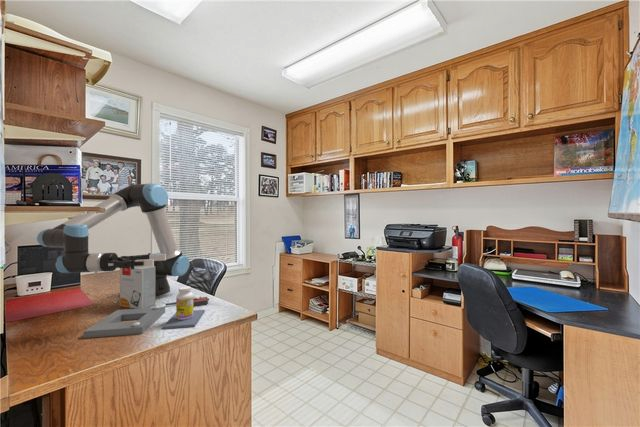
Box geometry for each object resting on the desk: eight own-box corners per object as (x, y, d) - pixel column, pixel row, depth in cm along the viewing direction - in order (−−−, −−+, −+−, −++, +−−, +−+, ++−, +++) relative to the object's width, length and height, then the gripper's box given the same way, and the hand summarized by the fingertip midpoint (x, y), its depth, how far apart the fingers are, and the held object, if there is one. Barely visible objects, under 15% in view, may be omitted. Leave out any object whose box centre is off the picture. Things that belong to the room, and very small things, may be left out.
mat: (176, 313, 130) (177, 311, 130) (204, 311, 132) (204, 309, 132) (162, 329, 112) (162, 326, 112) (194, 326, 114) (194, 324, 114)
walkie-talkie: (208, 300, 150) (165, 306, 141) (208, 292, 150) (165, 297, 141) (210, 305, 143) (165, 312, 133) (210, 296, 143) (165, 302, 133)
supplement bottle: (172, 318, 120) (172, 288, 120) (186, 313, 126) (186, 285, 126) (183, 321, 117) (183, 290, 117) (196, 316, 123) (196, 286, 123)
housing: (117, 315, 128) (117, 307, 128) (165, 312, 131) (165, 304, 131) (83, 338, 104) (83, 328, 104) (142, 333, 108) (142, 324, 108)
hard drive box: (119, 307, 140) (118, 266, 140) (133, 302, 147) (133, 264, 147) (142, 310, 135) (142, 268, 135) (156, 305, 142) (156, 265, 142)
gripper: (119, 265, 128) (170, 263, 132) (84, 278, 104) (147, 275, 108) (119, 249, 128) (169, 247, 132) (83, 258, 104) (147, 255, 108)
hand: (159, 259), depth 120 cm, fingers open, 13 cm apart
